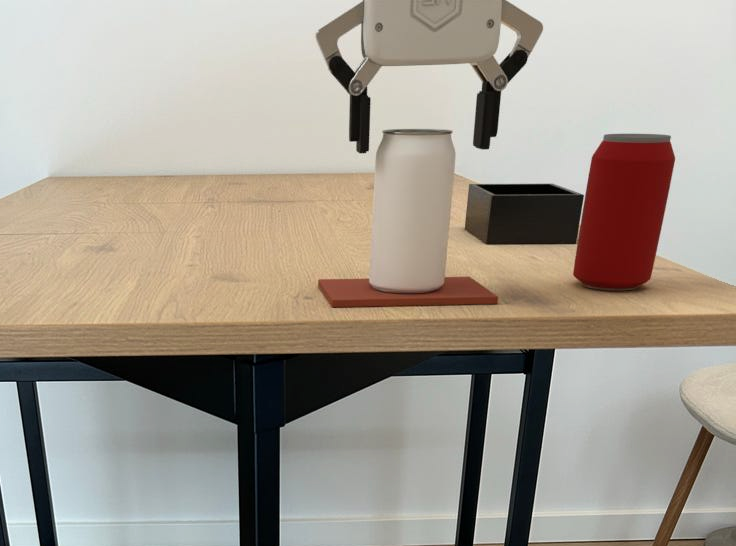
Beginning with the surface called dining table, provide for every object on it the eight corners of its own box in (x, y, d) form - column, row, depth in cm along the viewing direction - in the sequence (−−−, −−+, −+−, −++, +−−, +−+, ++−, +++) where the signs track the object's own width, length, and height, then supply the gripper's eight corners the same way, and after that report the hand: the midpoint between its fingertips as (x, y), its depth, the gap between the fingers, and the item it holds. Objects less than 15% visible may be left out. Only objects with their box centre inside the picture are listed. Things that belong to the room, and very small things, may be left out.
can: (453, 293, 79) (469, 132, 73) (379, 296, 78) (389, 133, 72) (429, 279, 84) (442, 128, 78) (360, 281, 84) (368, 129, 77)
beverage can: (623, 277, 88) (650, 132, 82) (664, 290, 82) (697, 136, 76) (557, 280, 87) (580, 133, 81) (594, 294, 81) (622, 138, 75)
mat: (468, 283, 86) (469, 276, 86) (497, 304, 78) (498, 296, 78) (317, 286, 85) (318, 279, 85) (332, 307, 77) (332, 299, 77)
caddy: (576, 243, 105) (584, 194, 103) (486, 244, 105) (491, 195, 103) (546, 228, 116) (553, 183, 113) (464, 228, 116) (469, 184, 113)
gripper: (319, -125, 64) (318, 157, 73) (573, -133, 64) (540, 150, 72) (312, -106, 70) (312, 150, 79) (543, -114, 70) (516, 144, 79)
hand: (421, 150), depth 76 cm, fingers open, 9 cm apart
